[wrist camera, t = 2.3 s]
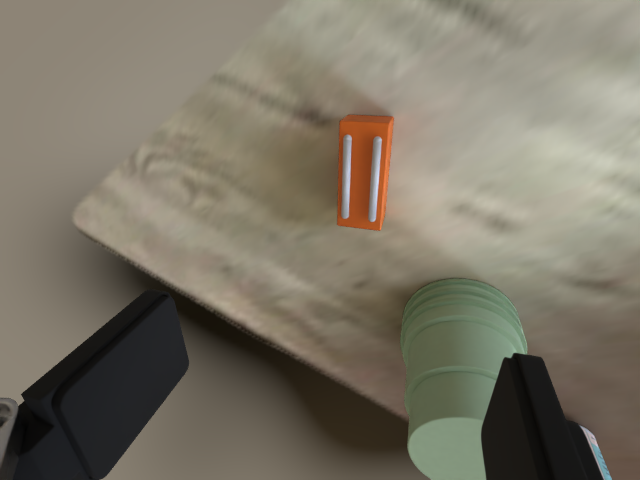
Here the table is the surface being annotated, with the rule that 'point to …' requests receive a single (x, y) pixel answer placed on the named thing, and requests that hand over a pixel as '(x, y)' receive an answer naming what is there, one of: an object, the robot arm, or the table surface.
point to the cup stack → (454, 371)
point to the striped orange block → (363, 170)
